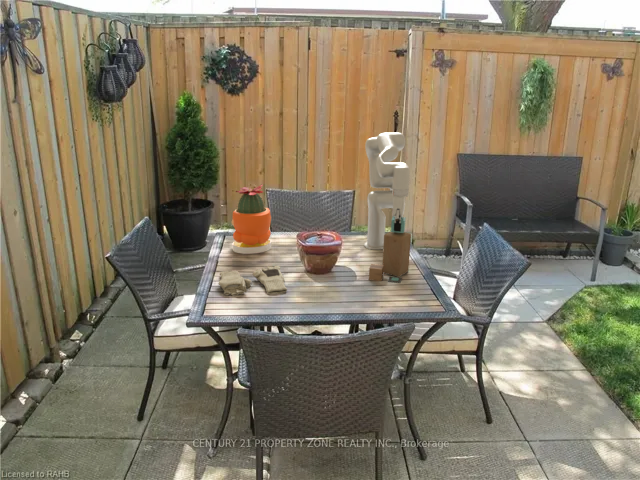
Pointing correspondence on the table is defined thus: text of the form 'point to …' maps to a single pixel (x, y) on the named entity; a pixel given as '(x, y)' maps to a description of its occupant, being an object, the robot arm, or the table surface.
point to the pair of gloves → (238, 284)
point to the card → (394, 279)
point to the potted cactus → (251, 223)
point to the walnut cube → (376, 272)
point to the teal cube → (401, 224)
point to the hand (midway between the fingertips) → (397, 228)
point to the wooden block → (396, 253)
